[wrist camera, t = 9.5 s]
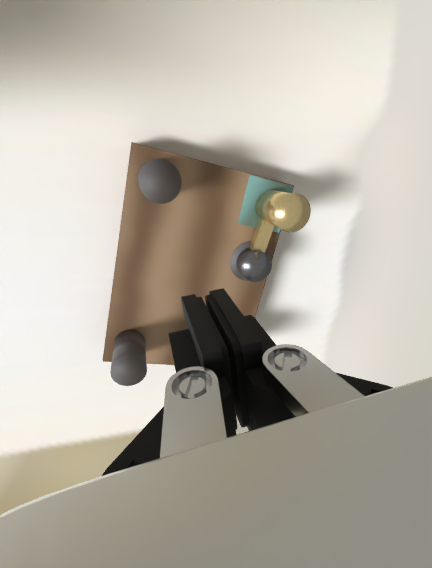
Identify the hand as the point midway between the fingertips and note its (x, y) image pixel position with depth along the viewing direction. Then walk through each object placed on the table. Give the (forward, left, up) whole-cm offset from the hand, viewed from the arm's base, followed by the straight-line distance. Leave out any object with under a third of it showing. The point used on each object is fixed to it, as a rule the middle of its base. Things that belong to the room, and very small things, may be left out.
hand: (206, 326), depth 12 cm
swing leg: (+10, +1, -19) cm, 21 cm away
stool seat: (+4, -4, -22) cm, 23 cm away
